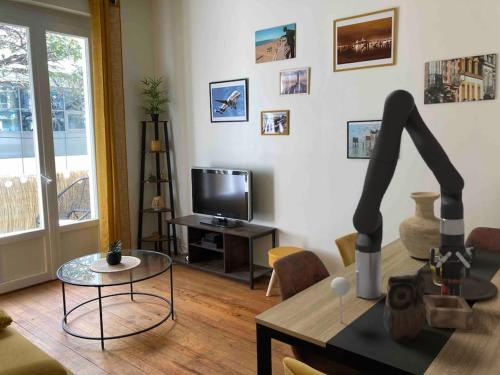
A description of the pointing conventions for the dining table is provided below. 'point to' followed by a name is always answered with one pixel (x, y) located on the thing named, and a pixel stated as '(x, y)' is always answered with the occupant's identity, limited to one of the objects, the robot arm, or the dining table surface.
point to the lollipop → (340, 288)
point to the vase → (421, 226)
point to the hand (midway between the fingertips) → (452, 277)
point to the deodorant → (451, 278)
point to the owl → (405, 305)
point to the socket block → (448, 311)
